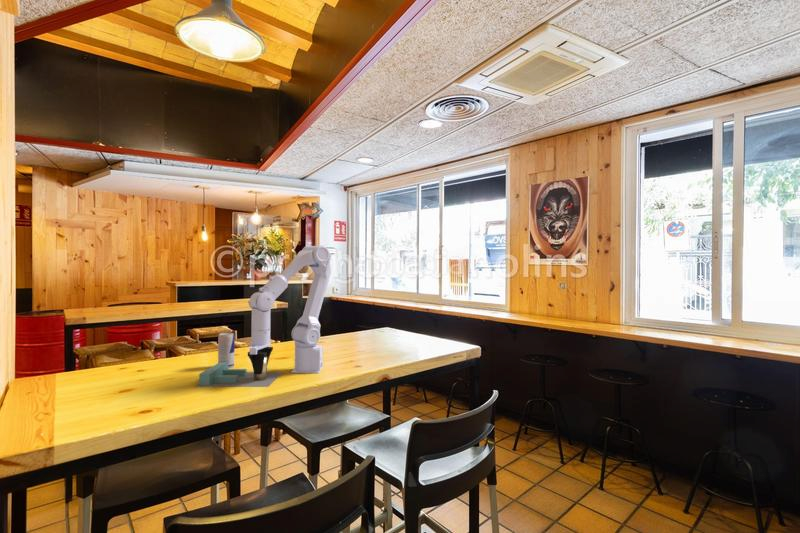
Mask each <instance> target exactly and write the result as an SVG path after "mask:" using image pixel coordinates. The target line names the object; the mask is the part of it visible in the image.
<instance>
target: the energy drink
mask: <svg viewBox="0 0 800 533" xmlns="http://www.w3.org/2000/svg"><path fill="white" fill-rule="evenodd" d="M235 337H236V336H235V333H234V332H221V333H219V334H218V338H217V339H218V340H217V344H218V345H217V364H218V363H219V362H228V369H233V368H234V367H235V343H236V342H235V339H236V338H235Z"/></svg>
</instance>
